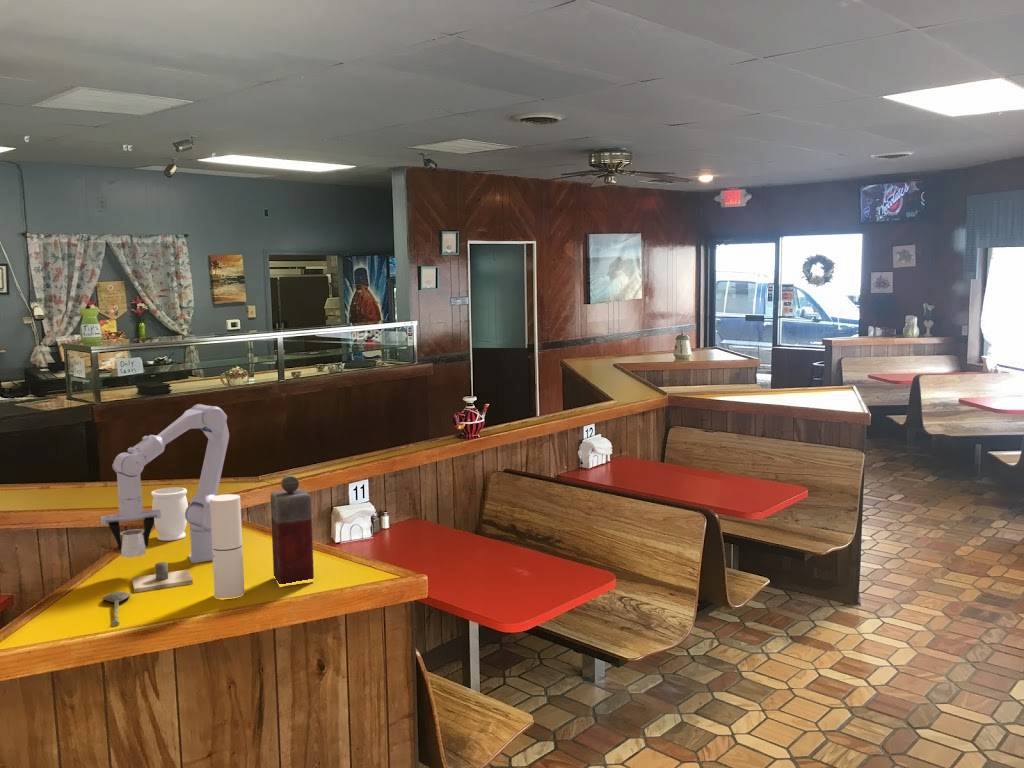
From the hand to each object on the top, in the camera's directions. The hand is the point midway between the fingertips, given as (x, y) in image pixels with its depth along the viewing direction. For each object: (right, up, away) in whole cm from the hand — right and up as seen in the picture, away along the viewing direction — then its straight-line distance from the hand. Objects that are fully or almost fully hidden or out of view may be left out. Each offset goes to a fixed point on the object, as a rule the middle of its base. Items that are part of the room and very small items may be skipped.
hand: (133, 547), depth 232 cm
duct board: (+10, -8, -5) cm, 14 cm away
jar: (-4, -4, +38) cm, 38 cm away
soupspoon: (+7, -11, -25) cm, 28 cm away
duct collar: (0, -2, 0) cm, 2 cm away
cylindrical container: (+31, -9, -16) cm, 36 cm away
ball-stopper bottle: (+44, -8, -4) cm, 45 cm away
